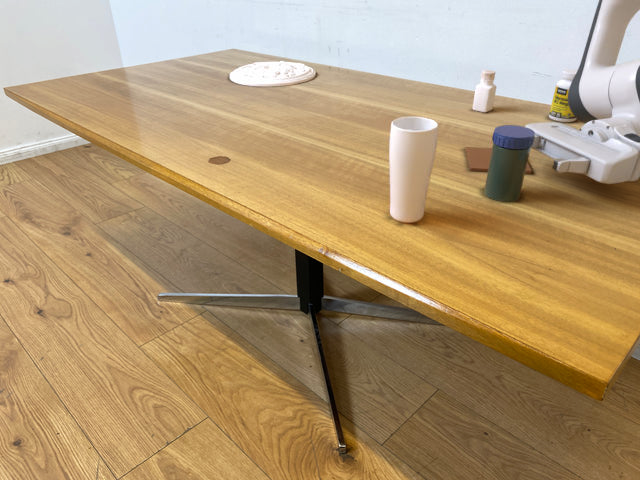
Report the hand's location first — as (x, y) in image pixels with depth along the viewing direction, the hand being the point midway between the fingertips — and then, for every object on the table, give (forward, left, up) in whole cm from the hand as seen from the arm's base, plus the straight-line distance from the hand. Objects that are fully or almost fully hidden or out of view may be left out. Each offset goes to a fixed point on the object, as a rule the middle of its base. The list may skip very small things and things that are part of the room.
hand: (535, 155), depth 80 cm
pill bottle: (-15, -42, -7) cm, 45 cm away
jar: (+5, +2, -6) cm, 8 cm away
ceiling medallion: (+66, -78, -7) cm, 102 cm away
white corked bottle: (+3, -47, -7) cm, 48 cm away
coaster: (+4, -13, -6) cm, 15 cm away
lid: (+5, +2, +4) cm, 7 cm away
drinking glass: (+21, +12, -7) cm, 25 cm away
